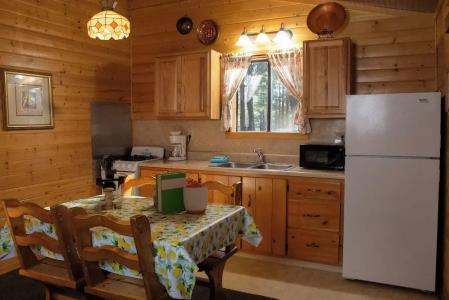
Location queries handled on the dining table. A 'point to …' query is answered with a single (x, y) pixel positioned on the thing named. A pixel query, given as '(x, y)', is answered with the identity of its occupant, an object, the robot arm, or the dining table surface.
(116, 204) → the notched board
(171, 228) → the dining table surface
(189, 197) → the white plant pot
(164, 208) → the hardback book
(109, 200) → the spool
